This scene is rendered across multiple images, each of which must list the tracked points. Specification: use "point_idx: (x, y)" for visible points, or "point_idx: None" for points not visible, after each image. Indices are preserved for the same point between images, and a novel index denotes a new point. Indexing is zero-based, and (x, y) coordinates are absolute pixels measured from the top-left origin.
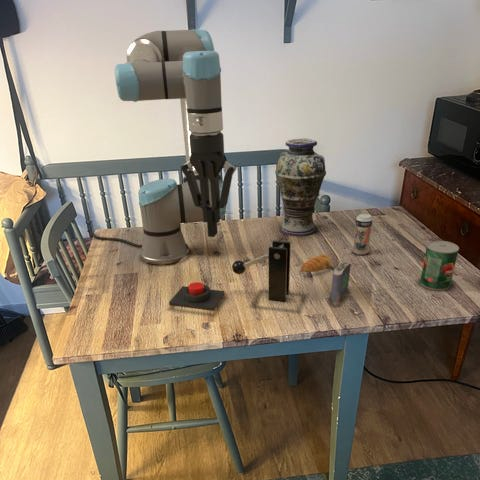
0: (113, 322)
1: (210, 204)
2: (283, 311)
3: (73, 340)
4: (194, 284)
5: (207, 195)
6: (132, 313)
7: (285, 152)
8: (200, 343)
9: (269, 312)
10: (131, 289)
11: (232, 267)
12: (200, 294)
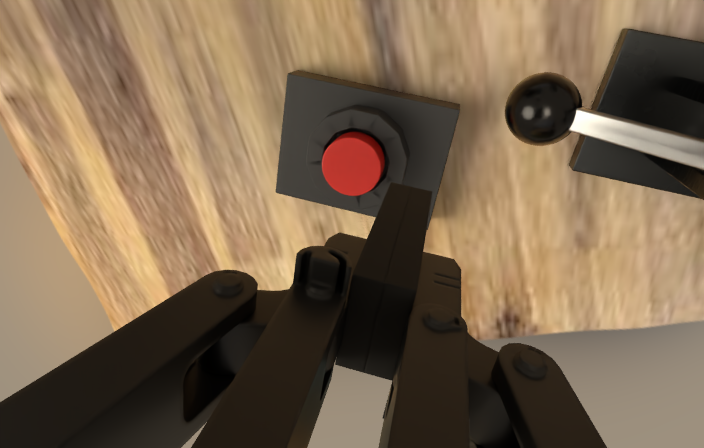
0: (162, 247)
1: (350, 273)
2: (688, 198)
3: (118, 314)
4: (342, 158)
5: (305, 430)
6: (187, 204)
7: None
8: None
9: (630, 204)
10: (111, 47)
11: (508, 125)
12: (375, 193)
